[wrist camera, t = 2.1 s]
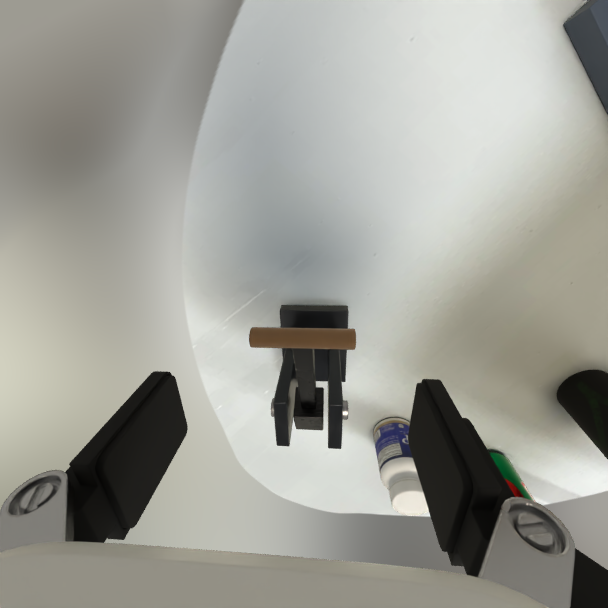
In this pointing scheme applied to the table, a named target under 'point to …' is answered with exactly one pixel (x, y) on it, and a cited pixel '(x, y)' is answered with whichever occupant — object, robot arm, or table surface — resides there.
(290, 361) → the switch bracket
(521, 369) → the table surface
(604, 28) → the control block
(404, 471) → the pill bottle
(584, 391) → the cup
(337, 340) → the lever
